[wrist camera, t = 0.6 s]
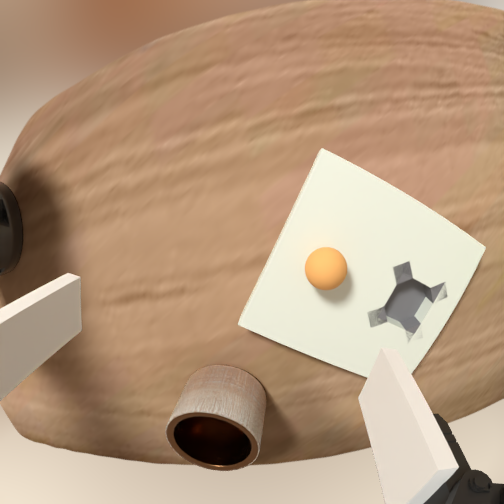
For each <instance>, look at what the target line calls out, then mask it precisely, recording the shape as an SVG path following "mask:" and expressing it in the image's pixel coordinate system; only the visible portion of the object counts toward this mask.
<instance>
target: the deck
mask: <svg viewBox="0 0 504 504" xmlns="http://www.w3.org/2000/svg"><path fill="white" fill-rule="evenodd" d="M322 247H330V248H334V249H336V250H338V251H339V252H340V253H341V254H342V255H343V256H344V258H345V260H346V262H347V275H346V277H345V279H344V281H343V282H342V283H341V284H340V285H339V286H338V287H336V288H334V289H332V290H320V289H317V288H316V287H314V286H313V285H312V284H311V283H310V282H309V281H308V279H307V277H306V274H305V263H306V260H307V258H308V257H309V255H310V254H311V253H312V252H313V251H315V250H316V249H319V248H322ZM485 248H486V247H485V246H483V245H482V244H481V243H479V242H478V241H476V240H475V239H474V238H472V237H471V236H470V235H468V234H467V233H465V232H464V231H463V230H461V229H460V228H458V227H457V226H455V225H454V224H452V223H451V222H449V221H448V220H447V219H445V218H444V217H442V216H440V215H439V214H437V213H436V212H434V211H433V210H431V209H430V208H428V207H427V206H425V205H423V204H422V203H420V202H419V201H417V200H415V199H414V198H412V197H411V196H409V195H407V194H406V193H404V192H402V191H401V190H399V189H397V188H396V187H394V186H392V185H390V184H389V183H387V182H385V181H383V180H382V179H380V178H378V177H376V176H375V175H373V174H371V173H369V172H367V171H365V170H364V169H362V168H360V167H358V166H356V165H354V164H352V163H350V162H349V161H347V160H345V159H343V158H341V157H339V156H337V155H335V154H333V153H331V152H329V151H327V150H325V149H323V148H322V149H321V150H320V151H319V153H318V155H317V157H316V159H315V161H314V163H313V166H312V168H311V170H310V172H309V174H308V176H307V178H306V181H305V183H304V185H303V187H302V189H301V191H300V193H299V196H298V198H297V200H296V202H295V204H294V206H293V208H292V210H291V212H290V215H289V217H288V219H287V221H286V223H285V225H284V227H283V229H282V231H281V233H280V236H279V238H278V240H277V242H276V244H275V246H274V248H273V250H272V252H271V254H270V256H269V258H268V261H267V263H266V265H265V267H264V269H263V271H262V273H261V275H260V277H259V279H258V281H257V283H256V285H255V287H254V289H253V291H252V294H251V296H250V298H249V300H248V302H247V304H246V306H245V308H244V310H243V312H242V314H241V316H240V319H239V322H238V325H240V326H242V327H244V328H246V329H249V330H251V331H253V332H255V333H258V334H260V335H262V336H264V337H267V338H269V339H271V340H274V341H276V342H278V343H281V344H283V345H285V346H288V347H290V348H293V349H295V350H297V351H300V352H302V353H305V354H307V355H310V356H312V357H315V358H317V359H320V360H322V361H325V362H327V363H330V364H332V365H335V366H338V367H340V368H343V369H346V370H348V371H351V372H354V373H356V374H359V375H362V376H364V377H367V378H368V376H369V374H370V372H371V370H372V368H373V365H374V363H375V361H376V358H377V356H378V354H379V351H380V349H381V347H382V348H389V349H396V350H397V351H398V352H399V354H400V356H401V358H402V359H403V361H404V363H405V365H406V366H407V368H408V370H409V372H410V373H411V374H412V372H413V371H414V370H415V368H416V367H417V365H418V364H419V363H420V361H421V360H422V358H423V357H424V356H425V354H426V353H427V351H428V350H429V348H430V347H431V345H432V344H433V342H434V341H435V339H436V338H437V336H438V335H439V333H440V331H441V330H442V328H443V327H444V325H445V323H446V322H447V320H448V319H449V317H450V315H451V314H452V312H453V310H454V308H455V307H456V305H457V303H458V301H459V300H460V298H461V296H462V294H463V292H464V291H465V289H466V287H467V285H468V283H469V281H470V279H471V277H472V275H473V273H474V272H475V269H476V267H477V265H478V263H479V261H480V259H481V257H482V255H483V253H484V251H485Z"/></svg>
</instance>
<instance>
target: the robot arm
mask: <svg viewBox="0 0 504 504" xmlns="http://www.w3.org/2000/svg"><path fill="white" fill-rule="evenodd" d="M22 240H23V232H22V221H21V216H20V211H19V208H18V205H17V202H16V200H15V197H14V195H13V194H12V192H11V190H10V189H9V188H8V187H7V186H6V185H5V184H4V183H2V182H0V275H2V274H5V273H7V272H9V271H11V270H12V269H13V268H14V267H15V266H16V264H17V263H18V260H19V258H20V254H21V250H22ZM81 331H82V318H81V277H79V276H76V275H73V274H70V273H67V274H65V275H63V276H61V277H59V278H57V279H55V280H53V281H51V282H49V283H47V284H45V285H43V286H41V287H39V288H38V289H36V290H34V291H32V292H30V293H28V294H26V295H24V296H23V297H21V298H19V299H17V300H15V301H13V302H12V303H10V304H8V305H6V306H4V307H3V308H1V309H0V401H1V400H2V399H3V398H4V397H5V396H7V395H8V394H9V393H10V392H11V391H12V390H13V389H14V388H15V387H17V386H18V385H19V384H20V383H21V382H22V381H23V380H24V379H26V378H27V377H28V376H29V375H30V374H31V373H32V372H34V371H35V370H36V369H37V368H38V367H39V366H40V365H42V364H43V363H44V362H45V361H46V360H47V359H49V358H50V357H51V356H52V355H53V354H54V353H56V352H57V351H58V350H59V349H60V348H62V347H63V346H64V345H65V344H66V343H67V342H69V341H70V340H71V339H72V338H73V337H75V336H76V335H77V334H78V333H79V332H81ZM358 399H359V402H360V406H361V409H362V413H363V417H364V420H365V424H366V428H367V431H368V435H369V439H370V443H371V447H372V451H373V455H374V459H375V463H376V466H377V471H378V475H379V479H380V483H381V488H382V492H383V496H384V501H385V504H504V484H496V483H492V481H491V479H490V478H489V477H488V475H487V474H485V473H483V472H482V471H478V470H471V468H470V466H469V464H468V462H467V461H466V458H465V456H464V454H463V452H462V450H461V448H460V446H459V444H458V443H457V442H456V439H455V437H454V435H452V431H451V429H450V427H449V426H448V424H447V422H446V421H445V420H444V419H443V418H442V417H441V416H440V415H439V414H432V412H431V410H430V408H429V406H428V404H427V402H426V400H425V399H424V397H423V395H422V393H421V391H420V389H419V388H418V386H417V384H416V382H415V380H414V379H413V377H412V375H411V373H410V372H409V370H408V368H407V366H406V365H405V363H404V361H403V359H402V358H401V356H400V354H399V352H398V351H397V350H396V349H389V348H382V347H381V349H380V351H379V354H378V356H377V358H376V361H375V363H374V365H373V368H372V370H371V372H370V374H369V376H368V379H367V381H366V383H365V385H364V387H363V389H362V391H361V393H360V395H359V397H358Z"/></svg>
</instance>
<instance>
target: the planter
mask: <svg viewBox="0 0 504 504" xmlns="http://www.w3.org/2000/svg"><path fill="white" fill-rule="evenodd" d="M265 410H266V394H265V391H264V389H263V387H262V385H261V384H260V382H259V381H258V380H257V379H256V378H255V377H254V376H252V375H251V374H249V373H248V372H246V371H244V370H242V369H239V368H237V367H233V366H229V365H210V366H206V367H203V368H201V369H199V370H197V371H196V372H194V373H193V374H192V376H191V377H190V378H189V379H188V381H187V383H186V385H185V387H184V389H183V391H182V394H181V396H180V398H179V400H178V402H177V404H176V407H175V409H174V411H173V413H172V415H171V417H170V419H169V421H168V423H167V426H166V431H165V432H166V438H167V441H168V443H169V444H170V446H171V447H172V448H173V450H174V451H175V452H176V453H177V454H178V455H180V456H181V457H182V458H184V459H185V460H187V461H189V462H191V463H193V464H195V465H197V466H200V467H203V468H207V469H211V470H218V471H230V470H237V469H241V468H244V467H246V466H248V465H250V464H251V463H253V462H254V461H255V460H256V458H257V457H258V455H259V451H260V444H261V437H262V430H263V424H264V417H265Z"/></svg>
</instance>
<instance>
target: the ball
mask: <svg viewBox="0 0 504 504" xmlns="http://www.w3.org/2000/svg"><path fill="white" fill-rule="evenodd" d="M305 274H306V277H307V279H308V281H309V282H310V283H311V284H312V285H313V286H314V287H316V288H317V289H320V290H332V289H334V288H336V287H338V286H339V285H340V284H341V283H342V282H343V281H344V279H345V277H346V275H347V262H346V260H345V258H344V256H343V255H342V254H341V253H340V252H339V251H338V250H336V249H334V248H330V247H322V248H319V249H316V250H315V251H313V252H312V253H311V254H310V255H309V257H308V258H307V260H306V263H305Z"/></svg>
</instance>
